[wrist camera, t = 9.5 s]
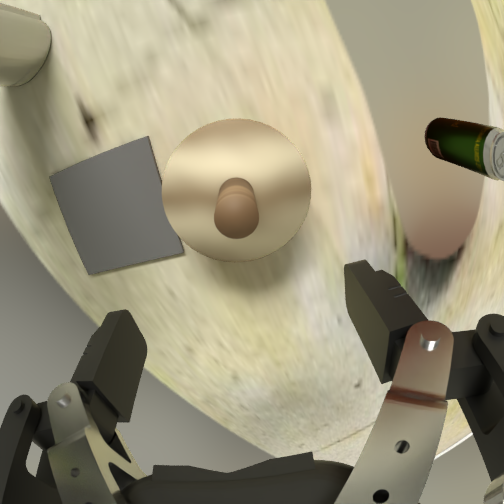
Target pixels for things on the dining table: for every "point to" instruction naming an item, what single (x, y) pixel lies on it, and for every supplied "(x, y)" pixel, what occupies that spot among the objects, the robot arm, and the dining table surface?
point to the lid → (236, 190)
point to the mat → (116, 208)
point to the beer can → (468, 145)
